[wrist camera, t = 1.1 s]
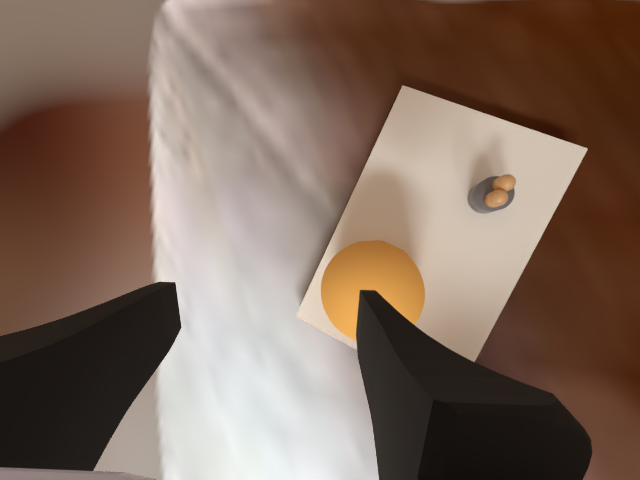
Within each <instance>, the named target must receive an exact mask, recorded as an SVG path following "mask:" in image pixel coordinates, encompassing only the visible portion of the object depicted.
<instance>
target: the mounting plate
mask: <svg viewBox="0 0 640 480" xmlns="http://www.w3.org/2000/svg"><path fill="white" fill-rule="evenodd" d="M587 150H588V149H587V148H584V147H581V146H578V145H576V144H573V143H570V142H567V141H564V140H561V139H558V138H555V137H552V136H549V135H546V134H543V133H541V132H538V131H535V130H532V129H529V128H526V127H523V126H520V125H517V124H514V123H511V122H508V121H506V120H503V119H500V118H497V117H494V116H491V115H488V114H485V113H482V112H479V111H476V110H473V109H471V108H468V107H465V106H462V105H459V104H456V103H453V102H450V101H447V100H444V99H441V98H438V97H436V96H433V95H430V94H427V93H424V92H421V91H418V90H415V89H412V88H409V87H406V86H403V85H402V88H401V90H400V92H399V94H398V96H397V98H396V101H395V103H394V105H393V107H392V109H391V111H390V113H389V116H388V118H387V120H386V122H385V124H384V126H383V129H382V131H381V133H380V135H379V137H378V139H377V141H376V144H375V146H374V148H373V150H372V152H371V154H370V157H369V159H368V161H367V163H366V165H365V167H364V170H363V172H362V174H361V176H360V178H359V180H358V182H357V185H356V187H355V189H354V191H353V193H352V195H351V198H350V200H349V202H348V204H347V206H346V208H345V211H344V213H343V215H342V217H341V219H340V221H339V223H338V226H337V228H336V230H335V232H334V234H333V236H332V239H331V241H330V243H329V245H328V247H327V249H326V252H325V254H324V256H323V258H322V260H321V262H320V264H319V267H318V269H317V271H316V273H315V275H314V277H313V280H312V282H311V284H310V286H309V288H308V290H307V293H306V295H305V297H304V299H303V301H302V303H301V305H300V308H299V310H298V312H297V314H296V317H298V318H300V319H302V320H303V321H305V322H307V323H309V324H311V325H312V326H314V327H316V328H318V329H320V330H322V331H323V332H325V333H327V334H329V335H331V336H332V337H334V338H336V339H338V340H340V341H342V342H343V343H345V344H347V345H349V346H351V347H353V348H354V349H356V350H357V342H356V340H354V339H351V338H349V337H348V336H346V335H344V334H343V333H342V332H340V331H339V330H338V329H337V328H336V327H335V326H334V325H333V324H332V322H331V321H330V320H329V318H328V316H327V314H326V312H325V310H324V308H323V304H322V300H321V281H322V277H323V274H324V271H325V269H326V267H327V265H328V263H329V262H330V261H331V259H332V258H333V257H334V256H335V255H336V254H337V253H338V252H340V251H341V250H342V249H344V248H346V247H347V246H350V245H351V244H353V243H356V242H362V241H374V240H380V241H381V242H382V241H384V242H387V243H389V244H391V245H393V246H395V247H397V248H400V249H402V250H404V252H406V253H407V254H408V256H409V257H410V258H411V259H412V261H413V262H414V263H415V264H416V266H417V268H418V269H419V271H420V274H421V276H422V279H423V282H424V288H425V301H424V306H423V310H422V312H421V315H420V317H419V319H418V320H417V322H416V324H415V326H416V327H418V328H419V329H420V330H421V331H423V332H424V333H426V334H427V335H428V336H430V337H432V338H433V339H435V340H436V341H438V342H439V343H441V344H442V345H444V346H445V347H447V348H449V349H451V350H452V351H454V352H456V353H458V354H460V355H462V356H463V357H465V358H467V359H469V360H471V361H473V362H475V360H476V358H477V357H478V355H479V353H480V351H481V349H482V347H483V345H484V343H485V342H486V340H487V338H488V336H489V334H490V332H491V330H492V328H493V326H494V325H495V323H496V321H497V319H498V317H499V315H500V313H501V311H502V310H503V308H504V306H505V304H506V302H507V300H508V298H509V296H510V295H511V293H512V291H513V289H514V287H515V285H516V283H517V281H518V279H519V278H520V276H521V274H522V272H523V270H524V268H525V266H526V264H527V263H528V261H529V259H530V257H531V255H532V253H533V251H534V249H535V248H536V246H537V244H538V242H539V240H540V238H541V236H542V234H543V232H544V231H545V229H546V227H547V225H548V223H549V221H550V219H551V217H552V216H553V214H554V212H555V210H556V208H557V206H558V204H559V202H560V200H561V199H562V197H563V195H564V193H565V191H566V189H567V187H568V185H569V184H570V182H571V180H572V178H573V176H574V174H575V172H576V170H577V169H578V167H579V165H580V163H581V161H582V159H583V157H584V155H585V153H586V152H587Z"/></svg>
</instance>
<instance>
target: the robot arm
mask: <svg viewBox="0 0 640 480" xmlns="http://www.w3.org/2000/svg"><path fill="white" fill-rule="evenodd" d="M180 329H181V322H180V314H179V307H178V299H177V292H176V284H175V282H157V283H154V284H151V285H148V286H145V287H142V288H140V289H137V290H135V291H132V292H130V293H127V294H125V295H122V296H120V297H117V298H115V299H112V300H110V301H108V302H105V303H103V304H100V305H97V306H95V307H92V308H89V309H87V310H84V311H81V312H79V313H76V314H74V315H71V316H68V317H65V318H62V319H59V320H56V321H53V322H50V323H47V324H43V325H40V326H37V327H33V328H30V329H26V330H23V331H19V332H15V333H11V334H7V335H3V336H0V480H156V479H152V478H148V477H143V476H138V475H133V474H129V473H124V472H102V471H93V470H94V468H95V466H96V464H97V462H98V460H99V459H100V457H101V455H102V453H103V451H104V449H105V448H106V446H107V444H108V442H109V440H110V438H111V437H112V435H113V434H114V432H115V430H116V428H117V427H118V425H119V423H120V421H121V420H122V418H123V416H124V415H125V413H126V411H127V410H128V409H129V407H130V406H131V404H132V402H133V401H134V399H135V398H136V397H137V395H138V394H139V393H140V391H141V390H142V388H143V387H144V386H145V384H146V383H147V381H148V380H149V379H150V377H151V376H152V375H153V373H154V372H155V370H156V369H157V368H158V366H159V365H160V363H161V362H162V360H163V359H164V358H165V356H166V355H167V353H168V352H169V350H170V348H171V347H172V345H173V343H174V341H175V339H176V337H177V335H178V333H179V331H180ZM356 342H357V352H358V359H359V364H360V369H361V373H362V378H363V382H364V386H365V391H366V395H367V400H368V404H369V408H370V413H371V419H372V424H373V432H374V440H375V448H376V456H377V464H378V473H379V480H583V477H584V475H585V473H586V471H587V469H588V466H589V463H590V459H591V456H592V446H591V439H590V438H589V436H588V434H587V432H586V431H585V429H584V428H583V427H582V426H581V424H580V423H579V422H578V421H577V420H576V419H575V418H574V417H573V416H572V414H571V413H570V412H569V411H568V410H567V409H566V408H565V407H564V406H563V404H562V403H561V402H560V401H559V400H558V399H557V398H556V397H555V396H554V395H553V394H552V393H549V392H546V391H543V390H541V389H538V388H535V387H532V386H530V385H527V384H524V383H521V382H519V381H516V380H513V379H511V378H508V377H506V376H504V375H501V374H499V373H497V372H494V371H492V370H490V369H488V368H485V367H483V366H481V365H479V364H477V363H475V362H473V361H471V360H469V359H467V358H465V357H463V356H462V355H460V354H458V353H456V352H454V351H452V350H451V349H449V348H447V347H445V346H444V345H442V344H441V343H439V342H438V341H436V340H435V339H433V338H432V337H430V336H428V335H427V334H426V333H424V332H423V331H421V330H420V329H419V328H418V327H416V326H415V325H414V324H412V323H411V322H410V321H409V320H408V319H406V318H405V317H404V316H403V315H402V314H401V313H399V312H398V311H397V310H396V309H395V308H394V307H393V306H392V305H391V304H390V303H389V302H387V301H386V300H385V299H384V298H383V297H382V296H381V295H380V294H379V293H378V292H377V291H376V290H360V294H359V305H358V316H357V327H356Z"/></svg>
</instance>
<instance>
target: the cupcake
mask: <svg viewBox="0 0 640 480" xmlns="http://www.w3.org/2000/svg"><path fill="white" fill-rule="evenodd" d="M360 290H376V291H377V292H378V293H379V294H380V295H381V296H382V297H383V298H384V299H385V300H386V301H387V302H389V303H390V304H391V305H392V306H393V307H394V308H395V309H396V310H397V311H398V312H399V313H401V314H402V315H403V316H404V317H405V318H406V319H408V320H409V321H410V322H411V323H412V324H414V325H415V324H416V322H417V320H418V319H419V317H420V315H421V312H422V310H423V306H424V301H425V288H424V282H423V279H422V276H421V274H420V271H419V269H418V268H417V266H416V264H415V263H414V262H413V261H412V259H411V258H410V257H409V256H408V254H407V253H406V252H404V250H402V249H400V248H397V247H395V246H393V245H391V244H389V243H387V242H384V241H382V242H381V241H380V240H374V241H362V242H356V243H353V244H351V245H350V246H347V247H346V248H344V249H342V250H341V251H340V252H338V253H337V254H336V255H335V256H334V257H333V258H332V259H331V261H330V262H329V263H328V265H327V267H326V269H325V271H324V274H323V277H322V281H321V300H322V304H323V308H324V310H325V312H326V314H327V316H328V318H329V320H330V321H331V322H332V324H333V325H334V326H335V327H336V328H337V329H338V330H339V331H340V332H342V333H343V334H344V335H346V336H348V337H349V338H351V339H354V340H356V327H357V316H358V305H359V294H360Z"/></svg>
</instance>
